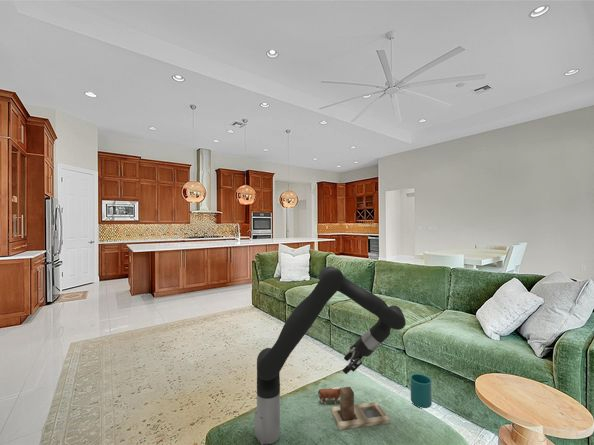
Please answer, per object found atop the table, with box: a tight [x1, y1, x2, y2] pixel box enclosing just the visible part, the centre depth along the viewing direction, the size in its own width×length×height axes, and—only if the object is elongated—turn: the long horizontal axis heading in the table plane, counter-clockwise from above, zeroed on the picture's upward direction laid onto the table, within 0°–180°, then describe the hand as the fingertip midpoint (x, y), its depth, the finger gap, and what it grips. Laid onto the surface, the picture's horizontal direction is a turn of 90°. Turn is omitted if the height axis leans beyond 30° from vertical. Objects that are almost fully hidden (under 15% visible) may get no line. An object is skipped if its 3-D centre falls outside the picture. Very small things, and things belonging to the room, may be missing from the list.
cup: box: [410, 373, 433, 409], centre depth 132 cm, size 9×12×11 cm
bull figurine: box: [317, 386, 343, 405], centre depth 130 cm, size 4×13×8 cm, turn 89°
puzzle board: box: [330, 401, 391, 431], centre depth 120 cm, size 22×12×2 cm, turn 100°
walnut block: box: [339, 386, 355, 421], centre depth 119 cm, size 4×4×12 cm
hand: (344, 365), depth 124 cm, fingers open, 8 cm apart
